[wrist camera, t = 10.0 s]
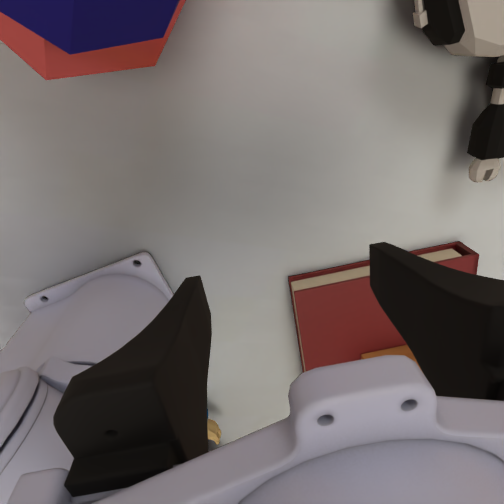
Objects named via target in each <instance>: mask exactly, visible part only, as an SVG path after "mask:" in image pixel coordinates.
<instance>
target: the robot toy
mask: <svg viewBox="0 0 504 504" xmlns="http://www.w3.org/2000/svg"><path fill="white" fill-rule="evenodd" d="M414 3H415V10H416V11H415V12H414V13H413V19H414V26H416V27H419V28H422V30H423V32H424V33H425V34H426V36H427V37H428V38H429V39H430V41H431V42H432V44H433V45H444V46H445V47H446V49H447V50H448V51H449V52H450V53H451V54H452V55H460V56H476V57H497V56H500V57H499V59H498V61H497V63H492V64H490V67H489V72H488V77H487V82H486V84H487V85H488V86H489V87H491V88H494V89H493V93H492V98H491V103H490V104H489V105H488V106H487V107H486V109H485V110H484V111H483V112H482V113H481V114H480V116H479V117H478V118H477V119H476V121H475V122H474V123H473V125H472V130H471V135H470V141H469V146H468V151H467V153H468V154H470V155H471V156H473V157H476V158H475V159H474V161H473V162H472V163H471V165H470V166H469V178H470V179H471V180H472V181H473V182H477V183H478V182H482V180H485V181H490V180H492V179H494V178H495V177H496V176H497V174H498V172H499V170H500V168H501V165H500V162H499V158H503V157H504V0H414Z"/></svg>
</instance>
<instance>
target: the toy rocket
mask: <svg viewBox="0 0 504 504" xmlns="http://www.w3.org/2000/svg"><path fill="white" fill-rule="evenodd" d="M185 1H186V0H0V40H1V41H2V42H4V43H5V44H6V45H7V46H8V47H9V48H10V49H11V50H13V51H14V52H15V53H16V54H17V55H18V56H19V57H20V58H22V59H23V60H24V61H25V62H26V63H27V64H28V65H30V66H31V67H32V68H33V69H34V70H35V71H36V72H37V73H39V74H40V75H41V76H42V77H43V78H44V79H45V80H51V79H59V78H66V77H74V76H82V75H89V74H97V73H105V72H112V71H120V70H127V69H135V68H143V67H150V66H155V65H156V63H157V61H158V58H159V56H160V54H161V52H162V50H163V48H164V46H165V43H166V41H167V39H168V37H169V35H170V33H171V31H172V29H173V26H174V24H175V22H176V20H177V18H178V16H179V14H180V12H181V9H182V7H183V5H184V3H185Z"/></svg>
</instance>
